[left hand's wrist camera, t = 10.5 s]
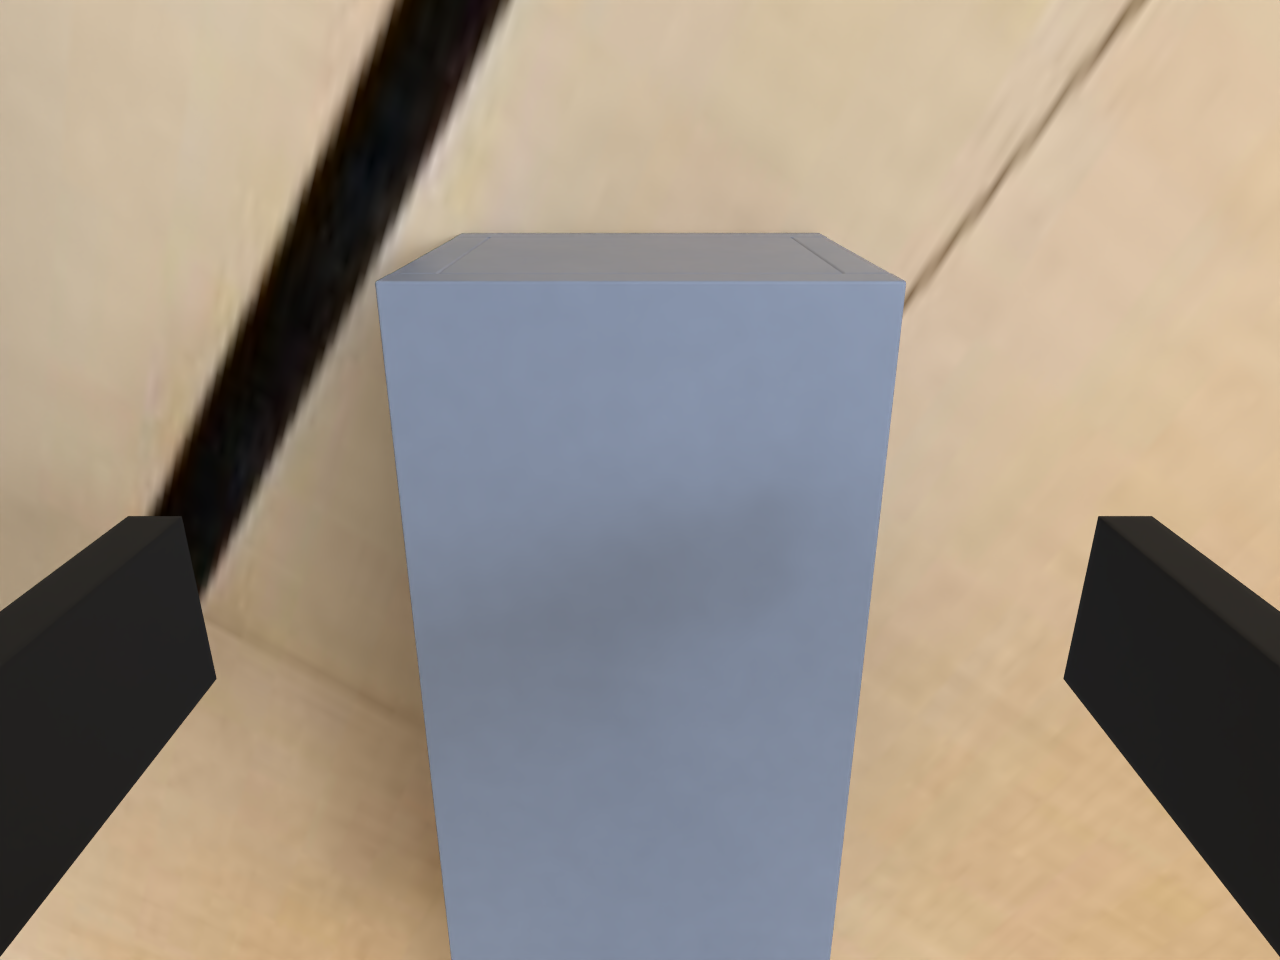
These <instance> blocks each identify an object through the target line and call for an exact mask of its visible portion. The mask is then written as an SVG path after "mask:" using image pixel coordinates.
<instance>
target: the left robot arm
mask: <svg viewBox="0 0 1280 960" xmlns="http://www.w3.org/2000/svg"><path fill="white" fill-rule="evenodd" d="M215 680H216V674H215V669H214V665H213V660H212V655H211V651H210V646H209V641H208V637H207V632H206V628H205V623H204V618H203V614H202V609H201V604H200V600H199V595H198V590H197V586H196V581H195V576H194V572H193V567H192V562H191V558H190V553H189V549H188V544H187V539H186V535H185V530H184V525H183V521H182V516H128V517H126V518H125V519H124V520H122V521H121V522H120V523H118V524H117V525H116V526H114V527H113V528H112V529H110V530H109V531H108V532H106V533H105V534H104V535H102V536H101V537H100V538H98V539H97V540H96V541H94V542H93V543H92V544H90V545H89V546H88V547H86V548H85V549H84V550H82V551H81V552H80V553H78V554H77V555H75V556H74V557H73V558H71V559H70V560H69V561H67V562H66V563H65V564H63V565H62V566H61V567H59V568H58V569H57V570H55V571H54V572H53V573H51V574H50V575H49V576H47V577H46V578H45V579H43V580H42V581H41V582H39V583H38V584H37V585H35V586H34V587H33V588H31V589H30V590H29V591H27V592H26V593H25V594H23V595H22V596H21V597H19V598H18V599H16V600H15V601H14V602H12V603H11V604H10V605H8V606H7V607H6V608H4V609H3V610H2V611H0V956H1V955H2V954H3V953H4V951H5V950H6V949H7V947H8V946H9V945H10V944H11V942H12V941H13V940H14V938H15V937H16V936H17V935H18V933H19V932H20V931H21V929H22V928H23V927H24V926H25V924H26V923H27V922H28V920H29V919H30V918H31V917H32V915H33V914H34V913H35V911H36V910H37V909H38V908H39V906H40V905H41V904H42V902H43V901H44V900H45V899H46V897H47V896H48V895H49V893H50V892H51V891H52V890H53V888H54V887H55V886H56V884H57V883H58V882H59V881H60V879H61V878H62V877H63V875H64V874H65V873H66V872H67V870H68V869H69V868H70V866H71V865H72V864H73V863H74V861H75V860H76V859H77V857H78V856H79V855H80V854H81V852H82V851H83V850H84V848H85V847H86V846H87V845H88V843H89V842H90V841H91V839H92V838H93V837H94V836H95V834H96V833H97V832H98V830H99V829H100V828H101V827H102V825H103V824H104V823H105V821H106V820H107V819H108V818H109V816H110V815H111V814H112V812H113V811H114V810H115V809H116V807H117V806H118V805H119V803H120V802H121V801H122V800H123V798H124V797H125V796H126V794H127V793H128V792H129V791H130V789H131V788H132V787H133V785H134V784H135V783H136V782H137V780H138V779H139V778H140V776H141V775H142V774H143V773H144V771H145V770H146V769H147V767H148V766H149V765H150V764H151V762H152V761H153V760H154V758H155V757H156V756H157V755H158V753H159V752H160V751H161V749H162V748H163V747H164V746H165V744H166V743H167V742H168V740H169V739H170V738H171V737H172V735H173V734H174V733H175V731H176V730H177V729H178V728H179V726H180V725H181V724H182V722H183V721H184V720H185V719H186V717H187V716H188V715H189V713H190V712H191V711H192V710H193V708H194V707H195V706H196V704H197V703H198V702H199V701H200V699H201V698H202V697H203V695H204V694H205V693H206V692H207V690H208V689H209V688H210V686H211V685H212V684H213V683H214V681H215ZM1064 680H1065V681H1066V683H1067V684H1068V685H1069V686H1070V688H1071V689H1072V690H1073V692H1074V693H1075V694H1076V695H1077V697H1078V698H1079V699H1080V701H1081V702H1082V703H1083V704H1084V706H1085V707H1086V708H1087V710H1088V711H1089V712H1090V713H1091V715H1092V716H1093V717H1094V719H1095V720H1096V721H1097V722H1098V724H1099V725H1100V726H1101V728H1102V729H1103V730H1104V731H1105V733H1106V734H1107V735H1108V737H1109V738H1110V739H1111V740H1112V742H1113V743H1114V744H1115V746H1116V747H1117V748H1118V749H1119V751H1120V752H1121V753H1122V755H1123V756H1124V757H1125V758H1126V760H1127V761H1128V762H1129V764H1130V765H1131V766H1132V767H1133V769H1134V770H1135V771H1136V773H1137V774H1138V775H1139V776H1140V778H1141V779H1142V780H1143V782H1144V783H1145V784H1146V785H1147V787H1148V788H1149V789H1150V791H1151V792H1152V793H1153V794H1154V796H1155V797H1156V798H1157V800H1158V801H1159V802H1160V803H1161V805H1162V806H1163V807H1164V809H1165V810H1166V811H1167V812H1168V814H1169V815H1170V816H1171V818H1172V819H1173V820H1174V821H1175V823H1176V824H1177V825H1178V827H1179V828H1180V829H1181V830H1182V832H1183V833H1184V834H1185V836H1186V837H1187V838H1188V839H1189V841H1190V842H1191V843H1192V845H1193V846H1194V847H1195V848H1196V850H1197V851H1198V852H1199V854H1200V855H1201V856H1202V857H1203V859H1204V860H1205V861H1206V863H1207V864H1208V865H1209V866H1210V868H1211V869H1212V870H1213V872H1214V873H1215V874H1216V875H1217V877H1218V878H1219V879H1220V881H1221V882H1222V883H1223V884H1224V886H1225V887H1226V888H1227V890H1228V891H1229V892H1230V893H1231V895H1232V896H1233V897H1234V899H1235V900H1236V901H1237V902H1238V904H1239V905H1240V906H1241V908H1242V909H1243V910H1244V911H1245V913H1246V914H1247V915H1248V917H1249V918H1250V919H1251V920H1252V922H1253V923H1254V924H1255V926H1256V927H1257V928H1258V929H1259V931H1260V932H1261V933H1262V935H1263V936H1264V937H1265V938H1266V940H1267V941H1268V942H1269V944H1270V945H1271V946H1272V947H1273V949H1274V950H1275V951H1276V953H1277V954H1278V955H1279V956H1280V611H1278V610H1277V609H1276V608H1274V607H1273V606H1272V605H1270V604H1269V603H1268V602H1266V601H1265V600H1264V599H1262V598H1261V597H1259V596H1258V595H1257V594H1255V593H1254V592H1253V591H1251V590H1250V589H1249V588H1247V587H1246V586H1245V585H1243V584H1242V583H1241V582H1239V581H1238V580H1237V579H1235V578H1234V577H1233V576H1231V575H1230V574H1229V573H1227V572H1226V571H1225V570H1223V569H1222V568H1221V567H1219V566H1218V565H1217V564H1215V563H1214V562H1213V561H1211V560H1210V559H1209V558H1207V557H1206V556H1205V555H1203V554H1202V553H1200V552H1199V551H1198V550H1196V549H1195V548H1194V547H1192V546H1191V545H1190V544H1188V543H1187V542H1186V541H1184V540H1183V539H1182V538H1180V537H1179V536H1178V535H1176V534H1175V533H1174V532H1172V531H1171V530H1170V529H1168V528H1167V527H1166V526H1164V525H1163V524H1162V523H1160V522H1159V521H1158V520H1156V519H1155V518H1154V517H1152V516H1098V521H1097V525H1096V530H1095V535H1094V539H1093V544H1092V549H1091V553H1090V558H1089V562H1088V567H1087V572H1086V576H1085V581H1084V586H1083V590H1082V595H1081V600H1080V604H1079V609H1078V614H1077V618H1076V623H1075V628H1074V632H1073V637H1072V641H1071V646H1070V651H1069V655H1068V660H1067V665H1066V669H1065V674H1064Z"/></svg>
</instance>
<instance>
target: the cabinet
mask: <svg viewBox="0 0 1280 960" xmlns="http://www.w3.org/2000/svg"><path fill="white" fill-rule="evenodd" d="M375 286H376V295H377V303H378V312H379V321H380V330H381V339H382V348H383V357H384V366H385V374H386V383H387V392H388V401H389V410H390V419H391V428H392V437H393V445H394V454H395V463H396V472H397V481H398V490H399V499H400V508H401V516H402V525H403V534H404V543H405V552H406V561H407V570H408V579H409V587H410V596H411V605H412V614H413V623H414V632H415V641H416V650H417V658H418V667H419V676H420V685H421V694H422V703H423V712H424V721H425V729H426V738H427V747H428V756H429V765H430V774H431V783H432V791H433V800H434V809H435V818H436V827H437V836H438V845H439V854H440V862H441V871H442V880H443V889H444V898H445V907H446V916H447V925H448V933H449V942H450V951H451V960H830V953H831V944H832V936H833V927H834V918H835V909H836V900H837V891H838V882H839V873H840V865H841V856H842V847H843V838H844V829H845V820H846V811H847V803H848V794H849V785H850V776H851V767H852V758H853V749H854V740H855V732H856V723H857V714H858V705H859V696H860V687H861V678H862V670H863V661H864V652H865V643H866V634H867V625H868V616H869V607H870V599H871V590H872V581H873V572H874V563H875V554H876V545H877V537H878V528H879V519H880V510H881V501H882V492H883V483H884V474H885V466H886V457H887V448H888V439H889V430H890V421H891V412H892V404H893V395H894V386H895V377H896V368H897V359H898V350H899V341H900V333H901V324H902V315H903V306H904V297H905V288H906V282H905V281H904V280H902V279H900V278H898V277H897V276H895V275H893V274H890V273H888V272H887V271H885V270H883V269H881V268H880V267H878V266H876V265H874V264H872V263H871V262H869V261H867V260H865V259H864V258H862V257H860V256H858V255H856V254H855V253H853V252H851V251H849V250H848V249H846V248H844V247H842V246H840V245H839V244H837V243H835V242H833V241H832V240H830V239H828V238H827V237H825V236H823V235H822V234H820V233H462V234H460V235H458V236H456V237H454V238H453V239H451V240H450V241H448V242H446V243H444V244H443V245H441V246H439V247H437V248H435V249H434V250H432V251H430V252H428V253H427V254H425V255H423V256H421V257H420V258H418V259H416V260H414V261H412V262H411V263H409V264H407V265H405V266H404V267H402V268H400V269H398V270H396V271H395V272H393V273H391V274H388V275H387V276H385V277H383V278H381V279H379V280H378V281H376V283H375Z"/></svg>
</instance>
